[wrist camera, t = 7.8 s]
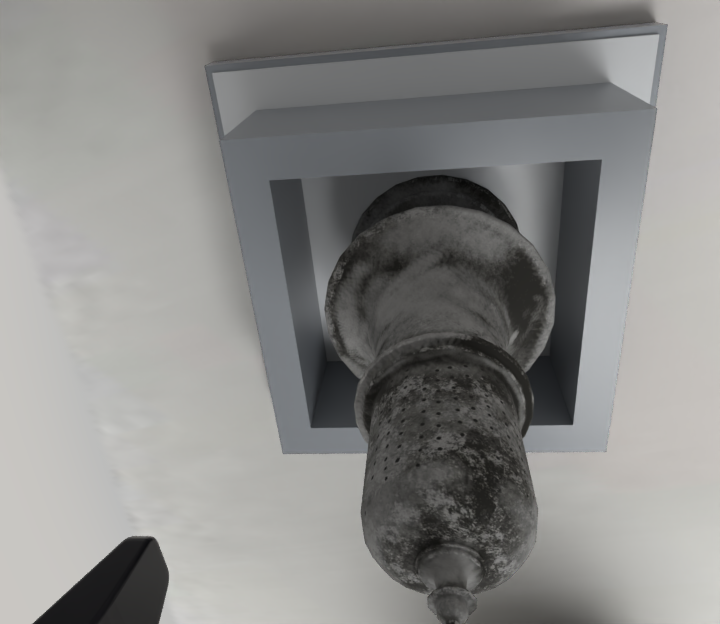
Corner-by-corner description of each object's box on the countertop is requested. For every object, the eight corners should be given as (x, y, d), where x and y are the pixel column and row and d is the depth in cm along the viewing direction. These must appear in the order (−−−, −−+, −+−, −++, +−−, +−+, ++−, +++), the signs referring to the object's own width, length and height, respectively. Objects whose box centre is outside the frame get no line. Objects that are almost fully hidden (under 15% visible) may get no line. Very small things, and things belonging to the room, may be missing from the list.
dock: (605, 392, 21) (645, 483, 17) (279, 398, 23) (250, 483, 19) (656, 22, 15) (734, 37, 12) (213, 61, 17) (153, 87, 13)
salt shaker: (306, 282, 19) (170, 648, 9) (408, 124, 16) (386, 380, 6) (456, 368, 20) (494, 783, 10) (574, 233, 17) (800, 610, 7)
